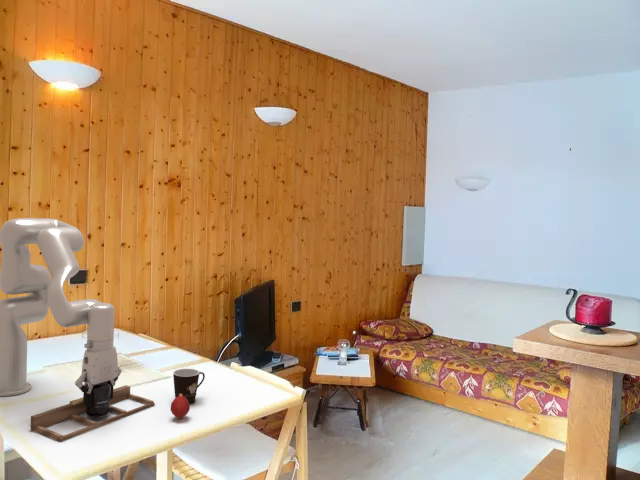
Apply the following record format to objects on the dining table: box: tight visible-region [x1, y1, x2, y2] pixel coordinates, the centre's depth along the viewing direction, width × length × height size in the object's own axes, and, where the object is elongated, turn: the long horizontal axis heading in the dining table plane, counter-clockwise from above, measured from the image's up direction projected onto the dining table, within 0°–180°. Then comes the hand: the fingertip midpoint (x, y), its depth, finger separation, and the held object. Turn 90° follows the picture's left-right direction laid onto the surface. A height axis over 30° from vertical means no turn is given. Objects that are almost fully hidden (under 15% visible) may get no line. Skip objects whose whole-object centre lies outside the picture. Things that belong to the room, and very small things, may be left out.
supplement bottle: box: [85, 382, 111, 418], centre depth 167 cm, size 7×7×12 cm
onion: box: [170, 394, 191, 420], centre depth 169 cm, size 6×6×8 cm
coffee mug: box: [172, 368, 206, 405], centre depth 184 cm, size 12×9×10 cm
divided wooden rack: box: [30, 384, 156, 443], centre depth 167 cm, size 14×34×5 cm, turn 151°
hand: (98, 401), depth 167 cm, fingers closed on supplement bottle, 6 cm apart
